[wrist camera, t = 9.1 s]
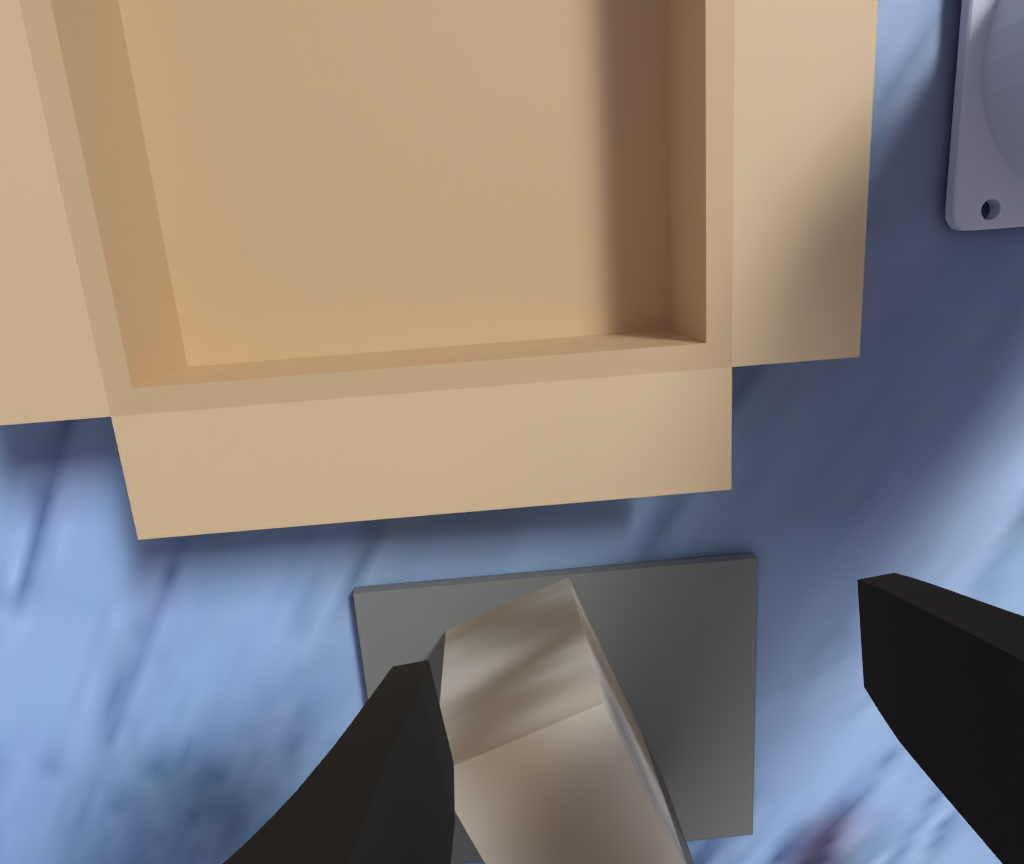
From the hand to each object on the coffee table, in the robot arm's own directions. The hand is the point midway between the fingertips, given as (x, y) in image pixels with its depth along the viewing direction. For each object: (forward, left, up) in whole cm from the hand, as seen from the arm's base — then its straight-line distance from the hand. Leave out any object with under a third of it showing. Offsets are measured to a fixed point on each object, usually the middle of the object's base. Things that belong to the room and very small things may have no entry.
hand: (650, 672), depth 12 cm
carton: (+4, -10, -9) cm, 14 cm away
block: (+1, +7, -9) cm, 11 cm away
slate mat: (+1, +8, -9) cm, 12 cm away
